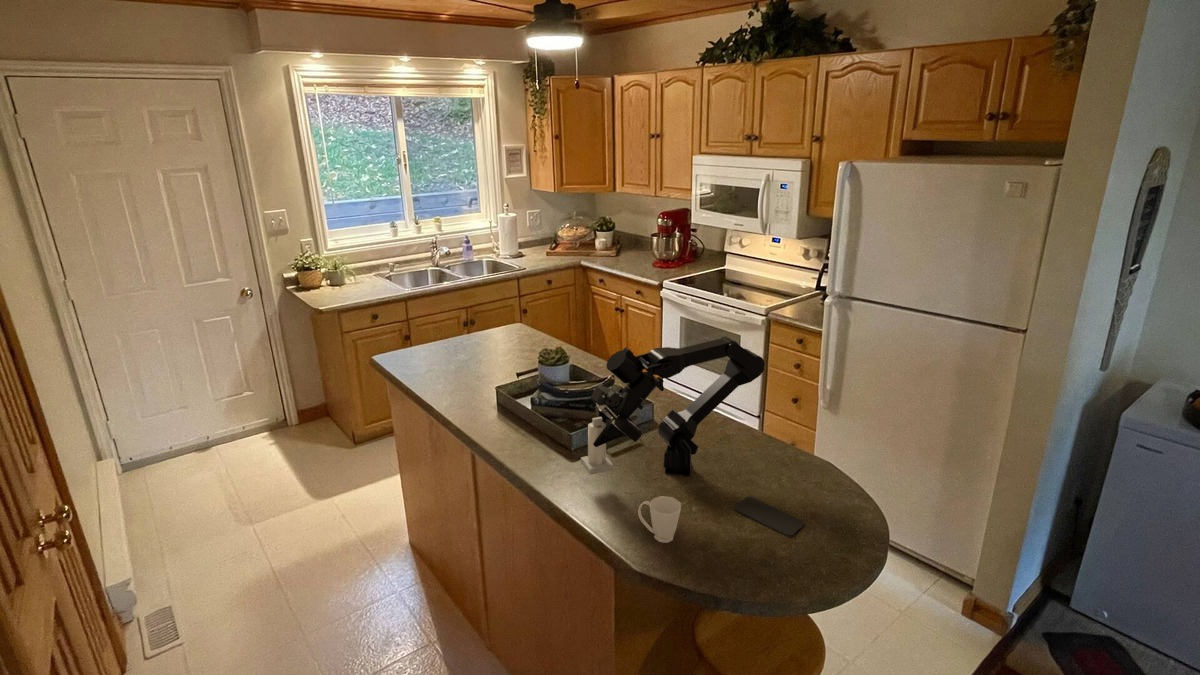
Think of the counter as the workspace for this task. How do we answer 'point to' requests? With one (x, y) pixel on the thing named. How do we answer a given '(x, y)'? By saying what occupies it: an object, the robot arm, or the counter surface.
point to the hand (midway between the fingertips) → (591, 442)
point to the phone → (769, 516)
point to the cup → (662, 517)
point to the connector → (596, 450)
